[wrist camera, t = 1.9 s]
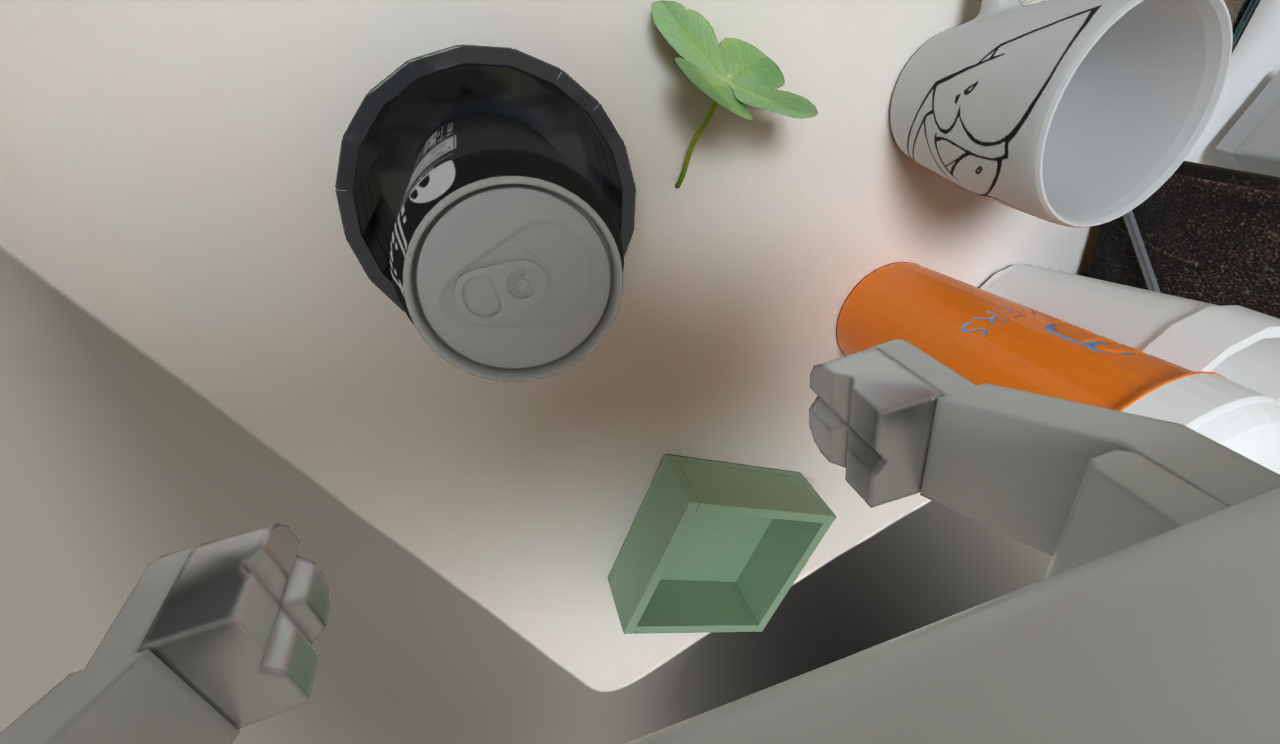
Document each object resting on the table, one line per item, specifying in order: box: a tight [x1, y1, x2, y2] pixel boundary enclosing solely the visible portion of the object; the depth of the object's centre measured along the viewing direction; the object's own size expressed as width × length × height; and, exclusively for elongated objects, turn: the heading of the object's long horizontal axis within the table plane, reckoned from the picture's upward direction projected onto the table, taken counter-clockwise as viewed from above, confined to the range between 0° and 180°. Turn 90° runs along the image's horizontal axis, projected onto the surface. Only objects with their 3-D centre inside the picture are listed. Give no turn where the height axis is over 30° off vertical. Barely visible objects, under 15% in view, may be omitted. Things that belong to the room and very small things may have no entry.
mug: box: [890, 0, 1233, 227], centre depth 24 cm, size 11×8×10 cm
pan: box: [335, 45, 636, 311], centre depth 23 cm, size 11×11×4 cm
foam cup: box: [979, 265, 1280, 403], centre depth 32 cm, size 10×9×13 cm
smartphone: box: [1184, 0, 1280, 169], centre depth 34 cm, size 8×1×16 cm
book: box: [1087, 161, 1280, 319], centre depth 33 cm, size 22×17×5 cm
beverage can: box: [390, 113, 624, 382], centre depth 20 cm, size 7×7×12 cm
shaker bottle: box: [837, 262, 1280, 474], centre depth 27 cm, size 9×9×20 cm
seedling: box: [651, 1, 818, 189], centre depth 25 cm, size 7×8×6 cm
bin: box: [608, 454, 836, 634], centre depth 38 cm, size 11×11×5 cm
